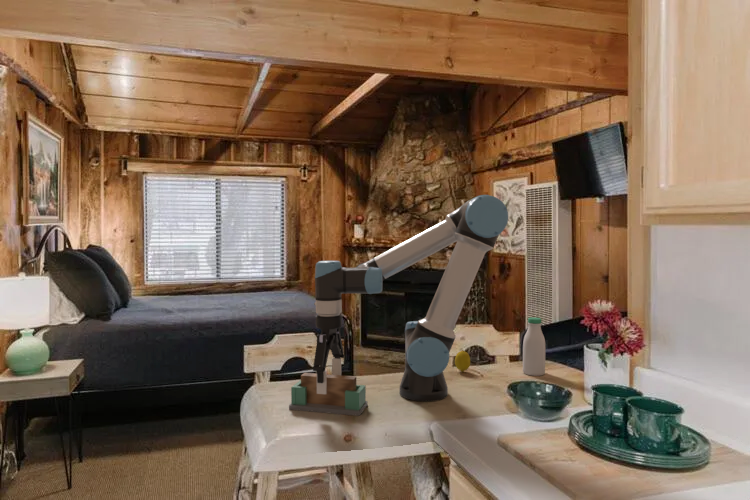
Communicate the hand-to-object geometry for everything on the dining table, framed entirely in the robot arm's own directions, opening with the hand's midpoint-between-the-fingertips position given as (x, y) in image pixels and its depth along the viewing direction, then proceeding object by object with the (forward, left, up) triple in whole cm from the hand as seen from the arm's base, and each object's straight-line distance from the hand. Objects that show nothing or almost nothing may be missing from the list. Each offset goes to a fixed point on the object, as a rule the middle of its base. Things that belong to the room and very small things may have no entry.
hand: (329, 386), depth 154 cm
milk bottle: (-60, -52, -6) cm, 79 cm away
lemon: (-35, -47, -6) cm, 59 cm away
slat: (0, 0, -5) cm, 5 cm away
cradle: (0, 0, -6) cm, 6 cm away
